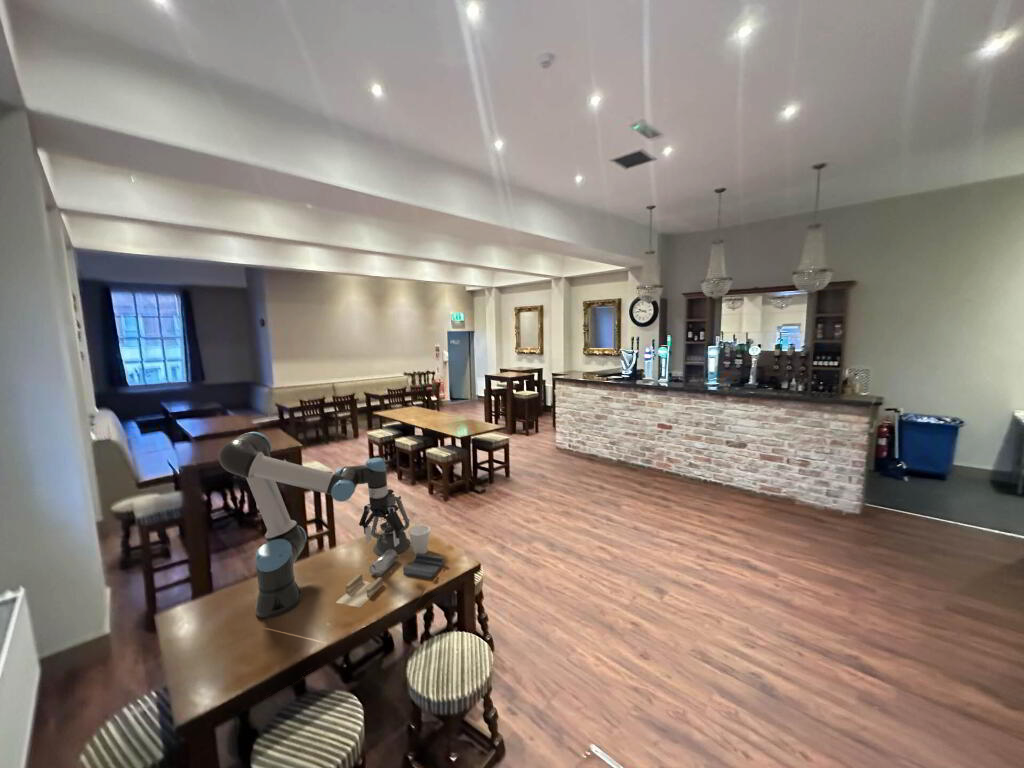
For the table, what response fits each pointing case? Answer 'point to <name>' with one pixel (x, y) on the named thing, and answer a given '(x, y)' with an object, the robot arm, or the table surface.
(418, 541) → the cup
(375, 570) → the grey metal cylinder
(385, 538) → the lantern
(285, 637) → the table surface
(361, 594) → the bracket
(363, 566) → the table surface
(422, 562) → the v block
